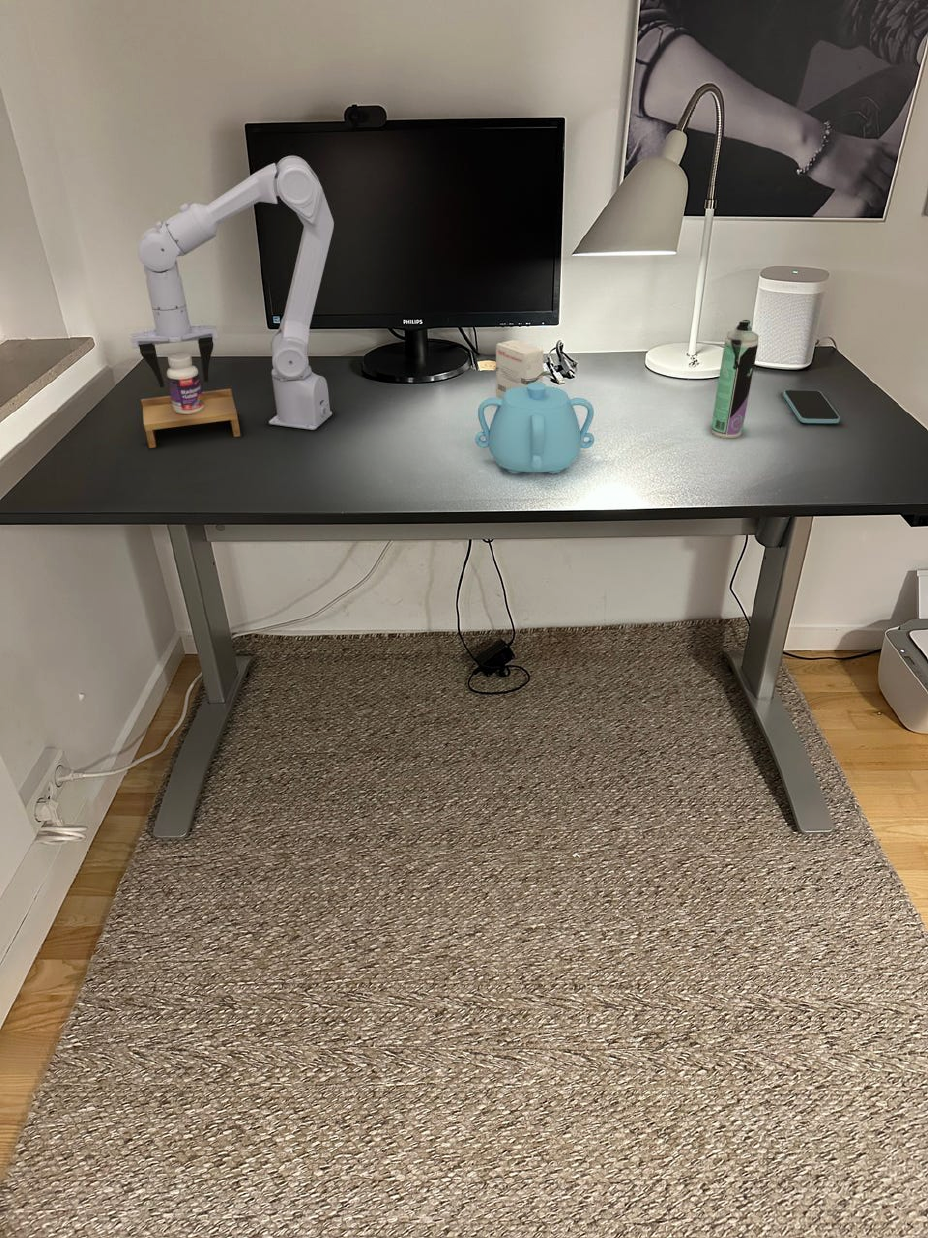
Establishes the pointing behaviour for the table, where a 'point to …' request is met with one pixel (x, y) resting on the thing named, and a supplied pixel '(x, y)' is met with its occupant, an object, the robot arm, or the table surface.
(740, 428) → the spray can
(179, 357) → the pill bottle
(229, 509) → the table surface
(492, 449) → the decorative pot
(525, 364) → the ink box
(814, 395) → the smartphone
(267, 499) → the table surface
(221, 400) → the desk shelf
